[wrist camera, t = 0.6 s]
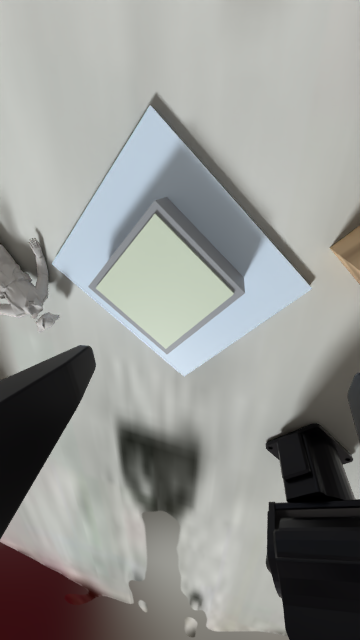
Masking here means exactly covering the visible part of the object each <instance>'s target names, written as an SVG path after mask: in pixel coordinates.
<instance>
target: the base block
mask: <svg viewBox="0 0 360 640" xmlns="http://www.w3.org/2000/svg"><path fill="white" fill-rule="evenodd" d="M88 287H89V288H90V289H91V290H92V291H94V292H95V293H96V294H97V295H98V296H99V297H101V298H102V299H103V300H104V301H105V302H106V303H107V304H109V305H110V306H111V307H112V308H113V309H114V310H116V311H117V312H118V313H119V314H120V315H121V316H123V317H124V318H125V319H126V320H127V321H128V322H130V323H131V324H132V325H133V326H134V327H135V328H137V329H138V330H139V331H140V332H141V333H142V334H144V335H145V336H146V337H147V338H148V339H149V340H151V341H152V342H153V343H154V344H155V345H156V346H157V347H159V348H160V349H161V350H162V351H163V352H164V353H166V354H168V353H170V352H171V351H172V350H174V349H175V348H176V347H177V346H179V345H180V344H181V343H182V342H184V341H185V340H186V339H188V338H189V337H190V336H191V335H193V334H194V333H195V332H196V331H198V330H199V329H200V328H201V327H203V326H204V325H205V324H207V323H208V322H209V321H210V320H212V319H213V318H214V317H215V316H217V315H218V314H219V313H221V312H222V311H223V310H224V309H226V308H227V307H228V306H229V305H231V304H232V303H233V302H235V301H236V300H237V299H238V298H240V297H241V296H242V295H243V294H245V285H244V277H243V276H242V275H241V274H240V273H239V272H238V271H237V270H236V269H235V268H234V267H233V266H232V264H231V263H230V262H229V261H228V260H227V259H226V258H225V257H224V256H223V255H222V254H221V253H220V252H219V251H218V250H217V249H216V248H215V247H214V246H213V245H212V244H211V243H210V241H209V240H208V239H207V238H206V237H205V236H204V235H203V234H202V233H201V232H200V231H199V230H198V229H197V228H196V227H195V226H194V225H193V224H192V223H191V222H190V221H189V219H188V218H187V217H186V216H185V215H184V214H183V213H182V212H181V211H180V210H179V209H178V208H177V207H176V206H175V205H174V204H173V203H172V202H171V201H170V200H169V199H168V197H164V198H161V199H157V200H155V201H154V202H153V203H152V204H151V206H150V207H149V208H148V210H147V211H146V212H145V214H144V215H143V216H142V217H141V219H140V220H139V221H138V223H137V224H136V225H135V227H134V228H133V229H132V230H131V232H130V233H129V234H128V236H127V237H126V238H125V239H124V241H123V242H122V243H121V245H120V246H119V247H118V249H117V250H116V251H115V252H114V254H113V255H112V256H111V258H110V259H109V260H108V262H107V263H106V264H105V265H104V267H103V268H102V269H101V271H100V272H99V273H98V274H97V276H96V277H95V278H94V280H93V281H92V282H91V284H90V285H89V286H88Z"/></svg>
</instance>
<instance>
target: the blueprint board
mask: <svg viewBox="0 0 360 640" xmlns="http://www.w3.org/2000/svg"><path fill="white" fill-rule="evenodd" d="M164 197H168V199H169V200H170V201H171V202H172V203H173V204H174V205H175V206H176V207H177V208H178V209H179V210H180V211H181V212H182V213H183V214H184V215H185V216H186V217H187V218H188V219H189V221H190V222H191V223H192V224H193V225H194V226H195V227H196V228H197V229H198V230H199V231H200V232H201V233H202V234H203V235H204V236H205V237H206V238H207V239H208V240H209V241H210V243H211V244H212V245H213V246H214V247H215V248H216V249H217V250H218V251H219V252H220V253H221V254H222V255H223V256H224V257H225V258H226V259H227V260H228V261H229V262H230V263H231V264H232V266H233V267H234V268H235V269H236V270H237V271H238V272H239V273H240V274H241V275H242V276H243V277H244V285H245V294H243V295H242V296H241V297H240V298H238V299H237V300H236V301H235V302H233V303H232V304H231V305H229V306H228V307H227V308H226V309H224V310H223V311H222V312H221V313H219V314H218V315H217V316H215V317H214V318H213V319H212V320H210V321H209V322H208V323H207V324H205V325H204V326H203V327H201V328H200V329H199V330H198V331H196V332H195V333H194V334H193V335H191V336H190V337H189V338H188V339H186V340H185V341H184V342H182V343H181V344H180V345H179V346H177V347H176V348H175V349H174V350H172V351H171V352H170V353H168V354H166V353H164V352H163V351H162V350H161V349H160V348H159V347H157V346H156V345H155V344H154V343H153V342H152V341H151V340H149V339H148V338H147V337H146V336H145V335H144V334H142V333H141V332H140V331H139V330H138V329H137V328H135V327H134V326H133V325H132V324H131V323H130V322H128V321H127V320H126V319H125V318H124V317H123V316H121V315H120V314H119V313H118V312H117V311H116V310H114V309H113V308H112V307H111V306H110V305H109V304H107V303H106V302H105V301H104V300H103V299H102V298H101V297H99V296H98V295H97V294H96V293H95V292H94V291H92V290H91V289H90V288H89V287H88V286H89V285H90V284H91V282H92V281H93V280H94V278H95V277H96V276H97V274H98V273H99V272H100V271H101V269H102V268H103V267H104V265H105V264H106V263H107V262H108V260H109V259H110V258H111V256H112V255H113V254H114V252H115V251H116V250H117V249H118V247H119V246H120V245H121V243H122V242H123V241H124V239H125V238H126V237H127V236H128V234H129V233H130V232H131V230H132V229H133V228H134V227H135V225H136V224H137V223H138V221H139V220H140V219H141V217H142V216H143V215H144V214H145V212H146V211H147V210H148V208H149V207H150V206H151V204H152V203H153V202H154V201H155V200H157V199H161V198H164ZM52 265H53V266H55V267H56V268H57V269H58V270H59V271H60V272H62V273H63V274H64V275H65V276H66V277H68V278H69V279H70V280H71V281H72V282H73V283H75V284H76V285H77V286H78V287H79V288H80V289H82V290H83V291H84V292H85V293H86V294H88V295H89V296H90V297H91V298H92V299H93V300H95V301H96V302H97V303H98V304H99V305H100V306H102V307H103V308H104V309H105V310H106V311H107V312H109V313H110V314H111V315H112V316H113V317H115V318H116V319H117V320H118V321H119V322H120V323H122V324H123V325H124V326H125V327H126V328H127V329H129V330H130V331H131V332H132V333H133V334H135V335H136V336H137V337H138V338H139V339H140V340H142V341H143V342H144V343H145V344H146V345H147V346H149V347H150V348H151V349H152V350H153V351H154V352H156V353H157V354H158V355H159V356H160V357H162V358H163V359H164V360H165V361H166V362H167V363H169V364H170V365H171V366H172V367H173V368H174V369H176V370H177V371H178V372H179V373H180V374H181V375H183V376H186V375H187V374H189V373H190V372H191V371H193V370H194V369H196V368H197V367H199V366H200V365H202V364H203V363H205V362H206V361H207V360H209V359H210V358H212V357H213V356H215V355H216V354H218V353H219V352H221V351H222V350H224V349H225V348H226V347H228V346H229V345H231V344H232V343H234V342H235V341H237V340H238V339H240V338H241V337H242V336H244V335H245V334H247V333H248V332H250V331H251V330H253V329H254V328H256V327H257V326H259V325H260V324H261V323H263V322H264V321H266V320H267V319H269V318H270V317H272V316H273V315H275V314H276V313H277V312H279V311H280V310H282V309H283V308H285V307H286V306H288V305H289V304H291V303H292V302H294V301H295V300H296V299H298V298H299V297H301V296H302V295H304V294H305V293H307V292H308V291H310V290H311V289H312V288H311V286H310V285H309V284H308V283H307V282H306V280H305V279H304V278H303V277H302V276H301V275H300V274H299V272H298V271H297V270H296V269H295V268H294V267H293V266H292V265H291V263H290V262H289V261H288V260H287V259H286V258H285V257H284V255H283V254H282V253H281V252H280V251H279V250H278V249H277V248H276V246H275V245H274V244H273V243H272V242H271V241H270V240H269V238H268V237H267V236H266V235H265V234H264V233H263V232H262V231H261V229H260V228H259V227H258V226H257V225H256V224H255V223H254V221H253V220H252V219H251V218H250V217H249V216H248V215H247V214H246V212H245V211H244V210H243V209H242V208H241V207H240V206H239V204H238V203H237V202H236V201H235V200H234V199H233V198H232V196H231V195H230V194H229V193H228V192H227V191H226V190H225V189H224V187H223V186H222V185H221V184H220V183H219V182H218V181H217V179H216V178H215V177H214V176H213V175H212V174H211V173H210V172H209V170H208V169H207V168H206V167H205V166H204V165H203V164H202V162H201V161H200V160H199V159H198V158H197V157H196V156H195V155H194V153H193V152H192V151H191V150H190V149H189V148H188V147H187V145H186V144H185V143H184V142H183V141H182V140H181V139H180V138H179V136H178V135H177V134H176V133H175V132H174V131H173V130H172V128H171V127H170V126H169V125H168V124H167V123H166V122H165V120H164V119H163V118H162V117H161V116H160V115H159V114H158V113H157V111H156V110H155V109H154V108H153V107H152V106H151V105H150V106H149V107H148V109H147V111H146V112H145V114H144V116H143V117H142V119H141V120H140V122H139V124H138V125H137V127H136V128H135V130H134V132H133V133H132V135H131V137H130V138H129V140H128V141H127V143H126V145H125V146H124V148H123V149H122V151H121V153H120V154H119V156H118V158H117V159H116V161H115V162H114V164H113V166H112V167H111V169H110V171H109V172H108V174H107V175H106V177H105V179H104V180H103V182H102V183H101V185H100V187H99V188H98V190H97V192H96V193H95V195H94V196H93V198H92V200H91V201H90V203H89V204H88V206H87V208H86V209H85V211H84V213H83V214H82V216H81V217H80V219H79V221H78V222H77V224H76V225H75V227H74V229H73V230H72V232H71V234H70V235H69V237H68V238H67V240H66V242H65V243H64V245H63V246H62V248H61V250H60V251H59V253H58V255H57V256H56V258H55V259H54V261H53V263H52Z"/></svg>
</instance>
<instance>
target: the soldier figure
mask: <svg viewBox="0 0 360 640" xmlns="http://www.w3.org/2000/svg"><path fill="white" fill-rule="evenodd" d="M34 239H35V240H34ZM34 239H33V238H32V240H33V242H34V244H35V245H34V244H33V242H32V240H31V239H30V242H31V244H32V245H31V244H30V242H28V244H29V245H30V247H31V249H32V250H33V252H34V254H35V255H36V257H35V259H36V265H37V274H38V278H37V282H36V287H35V286H34V285H33V284H32V283H31V281H32V279H31V278H30V276H29V274H27V273H24V272H23V271H21V268H20V266H19V265H18V264H16V263H15V261H14V259H13V258H12V257H11V255H10V254H9V253H8V252H7V251H6V249H5V248H4V247H3V246H2V245H1V244H0V298H1V299H3V298H5V299H7V300H8V302H9V303H10V304H0V314H4V315H8V316H13V317H17V318H19V317H23V316H26V315H32V316H31V317H32V318H33V319H36V317H37V316H38V313H39V312H41V311H42V310H43V307H42V306H43V302H45V300H46V299H47V298H48V275H49V274H48V270H47V264H46V261H45V258H44V255H43V254H42V250H41V247H40V245H39V243H38V241H37V240H36V238H34ZM35 241H36V242H35ZM36 243H37V244H36ZM32 246H33V247H32ZM58 318H59V315H53V314H50V313H46V314H44V315H42V316H41V317H40V318H39V319H38V321H36V324H37V327H38V332H42V331H44V329H48V328H50V327H51V326H52V325H53V324H54V323H55V320H57V319H58Z"/></svg>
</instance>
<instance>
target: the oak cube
mask: <svg viewBox="0 0 360 640" xmlns="http://www.w3.org/2000/svg"><path fill="white" fill-rule="evenodd" d="M330 249H331V250H332V251H333V252H334V254H335V255H336V256H337V257H338V258H339V260H340V261H341V262H342V263H343V265H344V266H345V267H346V268H347V269H348V271H349V272H350V273H351V274H352V276H353V277H354V278H355V279H356V280H357V282H358V283H359V284H360V226H358V227H357V228H356V229H354V230H353V231H352V232H350V233H349V234H348V235H346V236H345V237H344V238H342V239H341V240H339V241H338V242H337V243H335V244H334V245H333V246H331V247H330Z"/></svg>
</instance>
